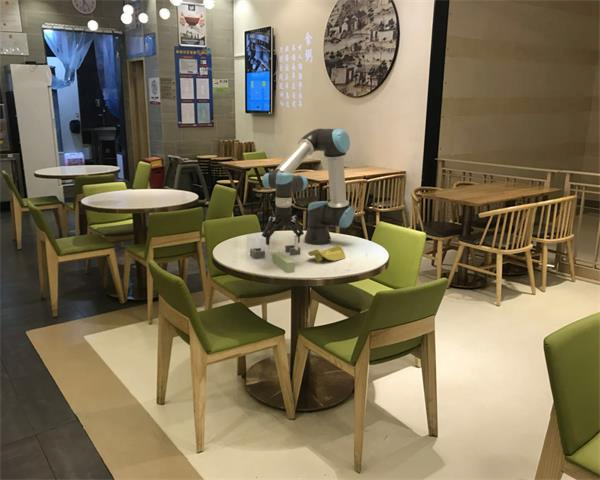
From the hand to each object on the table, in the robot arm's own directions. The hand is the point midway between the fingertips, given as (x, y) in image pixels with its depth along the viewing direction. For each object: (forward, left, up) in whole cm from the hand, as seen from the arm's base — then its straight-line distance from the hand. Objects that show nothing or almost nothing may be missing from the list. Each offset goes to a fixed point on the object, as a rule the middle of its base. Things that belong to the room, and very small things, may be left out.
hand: (282, 250), depth 245 cm
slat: (0, 0, -8) cm, 8 cm away
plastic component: (-25, -5, -8) cm, 27 cm away
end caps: (-4, -21, -8) cm, 23 cm away
